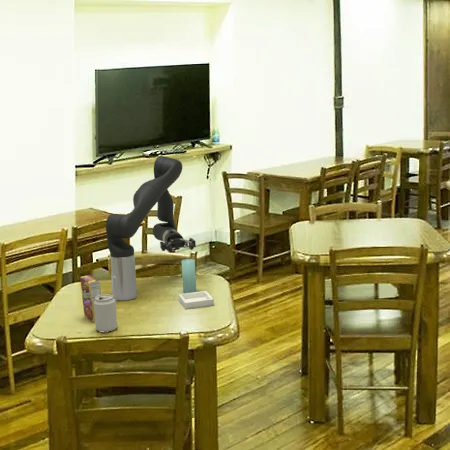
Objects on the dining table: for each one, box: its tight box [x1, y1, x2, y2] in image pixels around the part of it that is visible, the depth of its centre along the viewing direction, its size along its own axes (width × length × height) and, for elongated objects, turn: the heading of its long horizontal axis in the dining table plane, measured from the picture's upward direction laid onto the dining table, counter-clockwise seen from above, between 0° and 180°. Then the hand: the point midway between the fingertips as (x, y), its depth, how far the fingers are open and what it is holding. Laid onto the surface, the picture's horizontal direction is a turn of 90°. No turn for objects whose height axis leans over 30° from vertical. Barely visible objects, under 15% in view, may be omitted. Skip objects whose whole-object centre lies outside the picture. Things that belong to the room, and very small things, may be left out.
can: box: [94, 293, 118, 333], centre depth 266 cm, size 8×8×12 cm
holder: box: [178, 290, 215, 310], centre depth 291 cm, size 11×11×2 cm
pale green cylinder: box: [181, 258, 197, 294], centre depth 303 cm, size 5×5×13 cm
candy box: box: [79, 274, 102, 323], centre depth 277 cm, size 9×4×15 cm, turn 33°
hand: (181, 248), depth 312 cm, fingers open, 8 cm apart
